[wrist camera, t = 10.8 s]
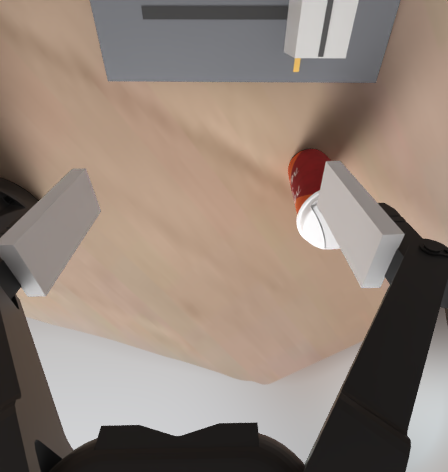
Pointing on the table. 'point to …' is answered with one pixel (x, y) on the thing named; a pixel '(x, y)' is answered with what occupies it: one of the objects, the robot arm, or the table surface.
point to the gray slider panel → (229, 42)
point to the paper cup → (310, 197)
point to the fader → (319, 28)
